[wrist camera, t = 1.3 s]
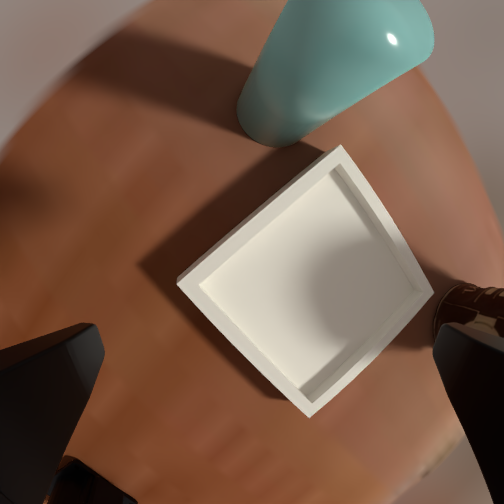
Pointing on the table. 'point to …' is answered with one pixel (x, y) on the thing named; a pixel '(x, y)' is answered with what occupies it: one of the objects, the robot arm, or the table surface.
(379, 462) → the table surface
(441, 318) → the coffee cup
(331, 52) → the teal cylinder
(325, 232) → the tray
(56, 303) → the table surface
